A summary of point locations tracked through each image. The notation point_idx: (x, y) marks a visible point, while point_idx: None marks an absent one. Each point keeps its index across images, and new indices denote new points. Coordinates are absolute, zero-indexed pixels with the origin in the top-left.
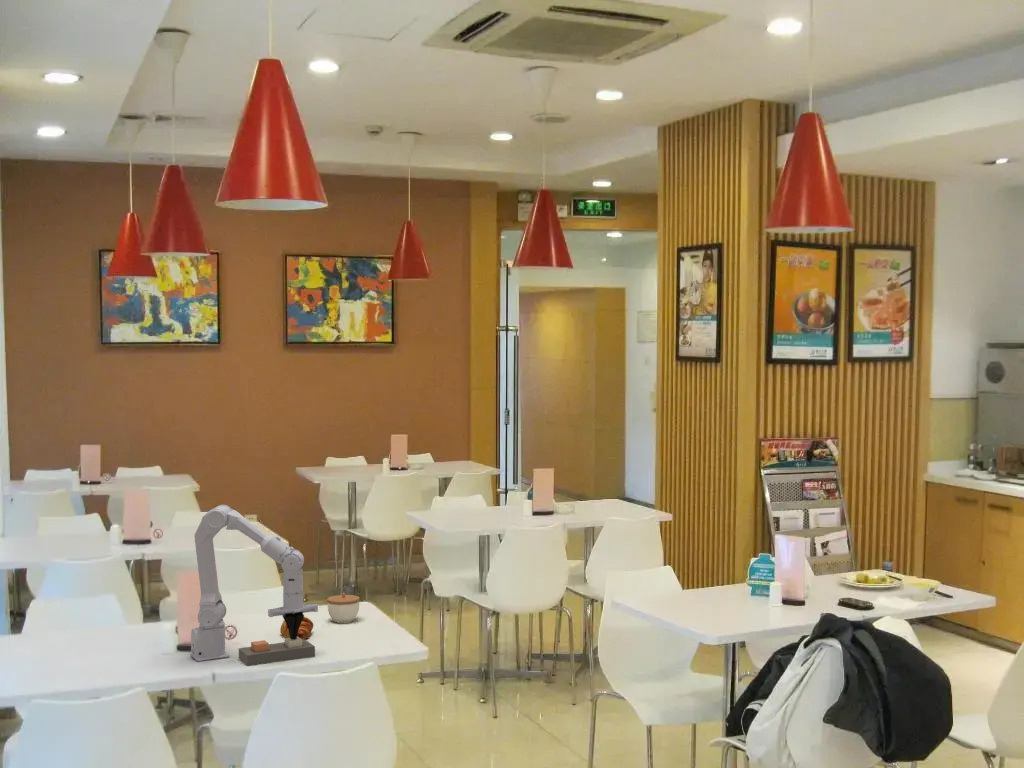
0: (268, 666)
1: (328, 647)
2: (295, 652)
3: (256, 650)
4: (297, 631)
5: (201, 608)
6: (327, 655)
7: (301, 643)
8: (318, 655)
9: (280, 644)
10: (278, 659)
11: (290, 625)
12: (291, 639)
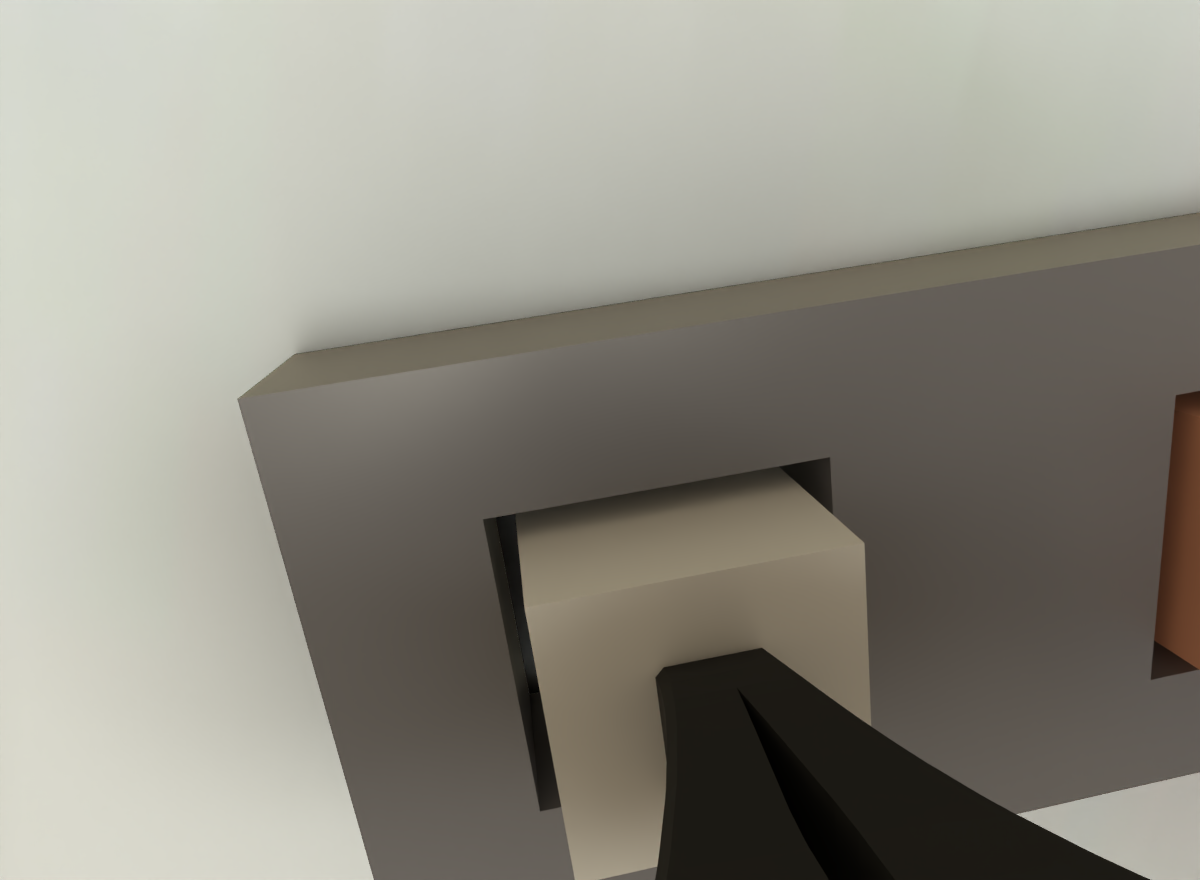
0: (1176, 5)
1: (6, 840)
2: (687, 310)
3: None
4: (687, 770)
5: None
6: (38, 347)
7: (536, 561)
8: (219, 407)
9: None
10: (968, 257)
11: (1116, 874)
12: None
